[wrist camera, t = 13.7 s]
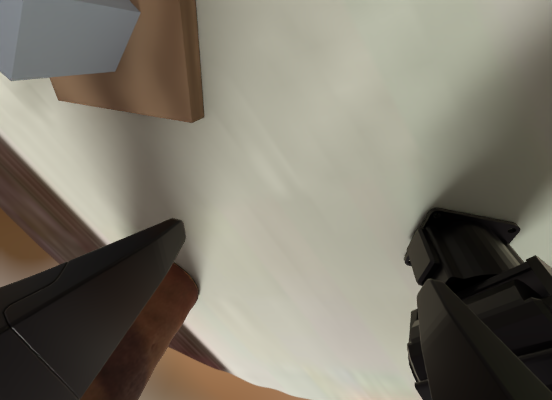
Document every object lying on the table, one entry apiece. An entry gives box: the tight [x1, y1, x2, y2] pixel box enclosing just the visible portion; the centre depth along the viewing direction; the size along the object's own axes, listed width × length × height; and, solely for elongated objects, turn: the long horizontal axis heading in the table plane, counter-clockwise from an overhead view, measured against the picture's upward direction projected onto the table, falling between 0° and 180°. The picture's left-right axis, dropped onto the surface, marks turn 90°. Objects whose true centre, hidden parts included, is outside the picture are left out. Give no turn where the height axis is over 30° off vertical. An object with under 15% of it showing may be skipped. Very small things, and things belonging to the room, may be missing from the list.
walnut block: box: [50, 0, 204, 123], centre depth 18 cm, size 13×13×2 cm
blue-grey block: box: [0, 0, 141, 81], centre depth 14 cm, size 5×5×7 cm
